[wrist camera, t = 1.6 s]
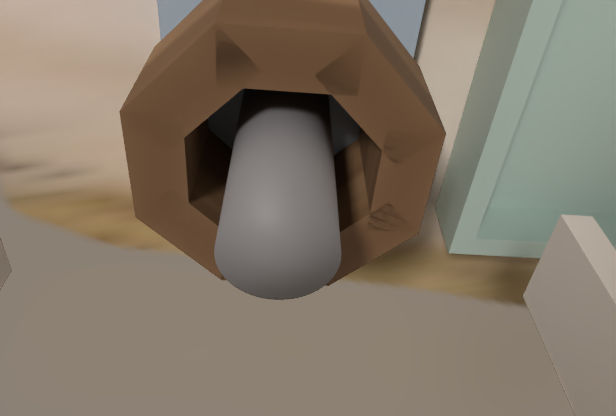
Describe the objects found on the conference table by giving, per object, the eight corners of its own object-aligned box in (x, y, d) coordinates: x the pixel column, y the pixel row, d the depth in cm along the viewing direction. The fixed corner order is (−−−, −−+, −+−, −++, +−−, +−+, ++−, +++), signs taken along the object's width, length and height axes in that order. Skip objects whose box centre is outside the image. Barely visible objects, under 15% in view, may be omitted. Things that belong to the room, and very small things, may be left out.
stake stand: (153, -118, 19) (-24, 11, 9) (438, -92, 19) (588, 58, 9) (174, 133, 25) (86, 379, 15) (389, 147, 26) (446, 394, 15)
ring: (146, -38, 15) (104, 13, 12) (436, -13, 15) (471, 42, 12) (169, 196, 20) (144, 276, 17) (387, 209, 20) (402, 289, 17)
